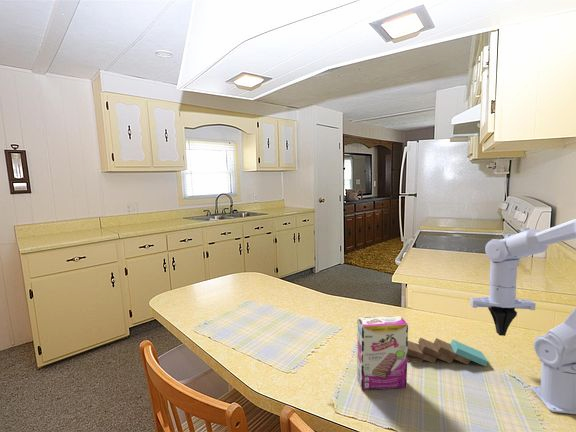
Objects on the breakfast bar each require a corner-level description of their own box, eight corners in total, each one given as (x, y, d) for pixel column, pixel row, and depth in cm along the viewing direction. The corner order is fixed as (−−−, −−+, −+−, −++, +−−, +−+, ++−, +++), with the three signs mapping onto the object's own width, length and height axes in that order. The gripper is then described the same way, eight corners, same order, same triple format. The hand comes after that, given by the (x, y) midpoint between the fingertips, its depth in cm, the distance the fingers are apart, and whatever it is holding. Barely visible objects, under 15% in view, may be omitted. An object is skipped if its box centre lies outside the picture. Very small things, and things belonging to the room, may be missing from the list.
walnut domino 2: (431, 348, 90) (403, 339, 91) (436, 357, 85) (407, 348, 86) (429, 353, 90) (401, 344, 91) (434, 363, 85) (405, 353, 86)
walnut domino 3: (447, 349, 89) (420, 337, 91) (453, 358, 85) (424, 346, 86) (445, 353, 90) (418, 342, 91) (451, 363, 85) (422, 351, 86)
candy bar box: (362, 391, 75) (361, 326, 73) (356, 378, 80) (356, 316, 78) (408, 389, 75) (408, 323, 73) (400, 376, 80) (400, 314, 78)
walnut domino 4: (464, 350, 89) (436, 338, 90) (470, 359, 84) (440, 346, 85) (461, 355, 89) (433, 342, 90) (467, 364, 84) (438, 351, 85)
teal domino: (481, 351, 87) (452, 339, 89) (488, 361, 83) (457, 348, 84) (478, 356, 88) (450, 344, 89) (485, 366, 83) (455, 353, 84)
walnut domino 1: (419, 349, 91) (390, 347, 92) (422, 359, 86) (392, 356, 87) (418, 354, 91) (390, 352, 92) (422, 364, 86) (392, 362, 88)
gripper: (525, 280, 84) (523, 328, 86) (466, 278, 87) (465, 325, 89) (541, 289, 78) (538, 341, 79) (476, 287, 81) (475, 337, 82)
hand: (500, 333), depth 83 cm, fingers closed
